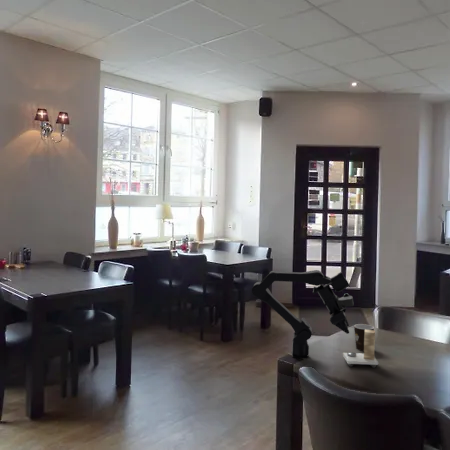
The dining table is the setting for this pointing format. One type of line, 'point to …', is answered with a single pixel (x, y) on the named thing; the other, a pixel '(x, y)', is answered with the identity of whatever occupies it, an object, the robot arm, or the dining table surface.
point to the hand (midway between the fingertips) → (348, 329)
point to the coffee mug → (361, 335)
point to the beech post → (369, 344)
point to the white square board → (359, 360)
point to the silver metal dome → (351, 354)
